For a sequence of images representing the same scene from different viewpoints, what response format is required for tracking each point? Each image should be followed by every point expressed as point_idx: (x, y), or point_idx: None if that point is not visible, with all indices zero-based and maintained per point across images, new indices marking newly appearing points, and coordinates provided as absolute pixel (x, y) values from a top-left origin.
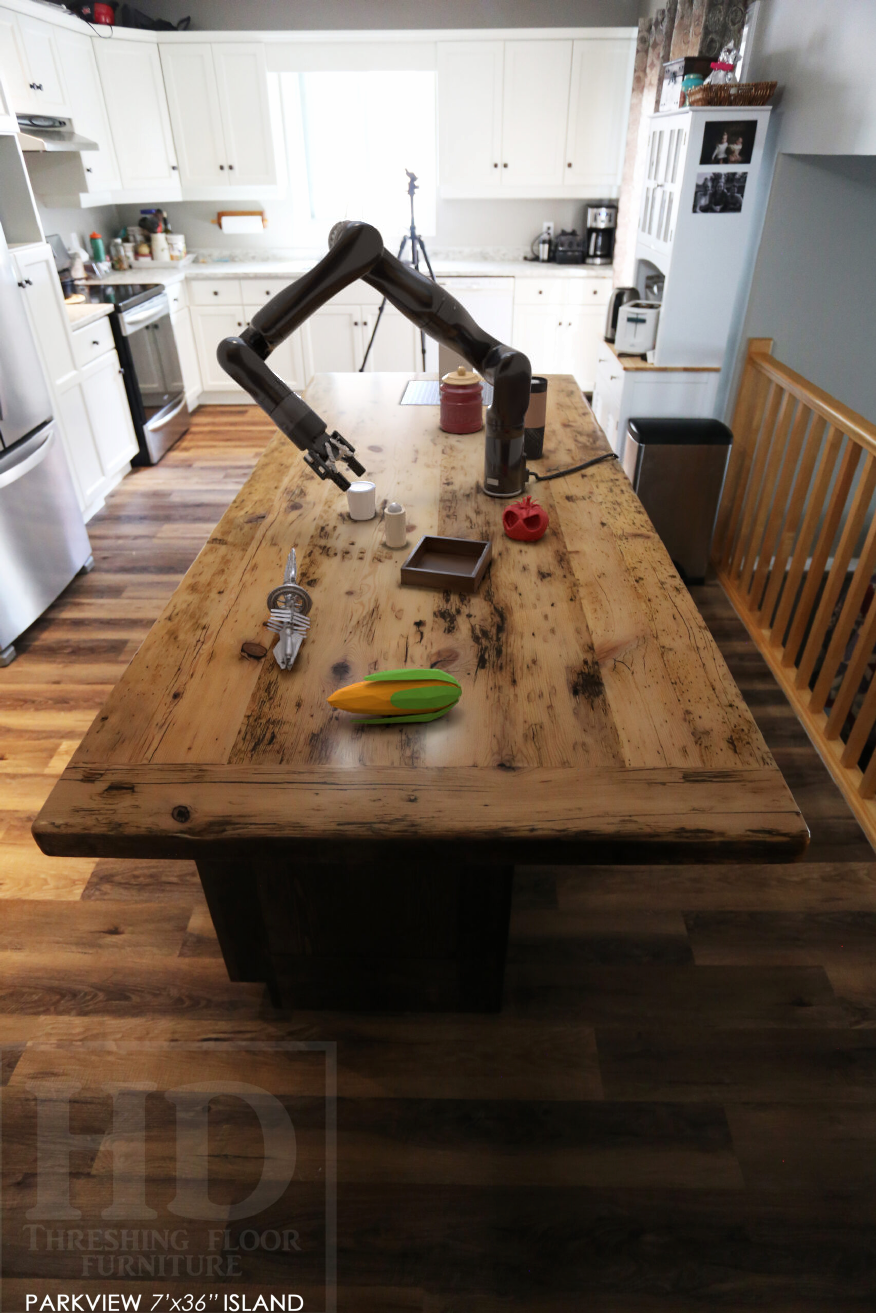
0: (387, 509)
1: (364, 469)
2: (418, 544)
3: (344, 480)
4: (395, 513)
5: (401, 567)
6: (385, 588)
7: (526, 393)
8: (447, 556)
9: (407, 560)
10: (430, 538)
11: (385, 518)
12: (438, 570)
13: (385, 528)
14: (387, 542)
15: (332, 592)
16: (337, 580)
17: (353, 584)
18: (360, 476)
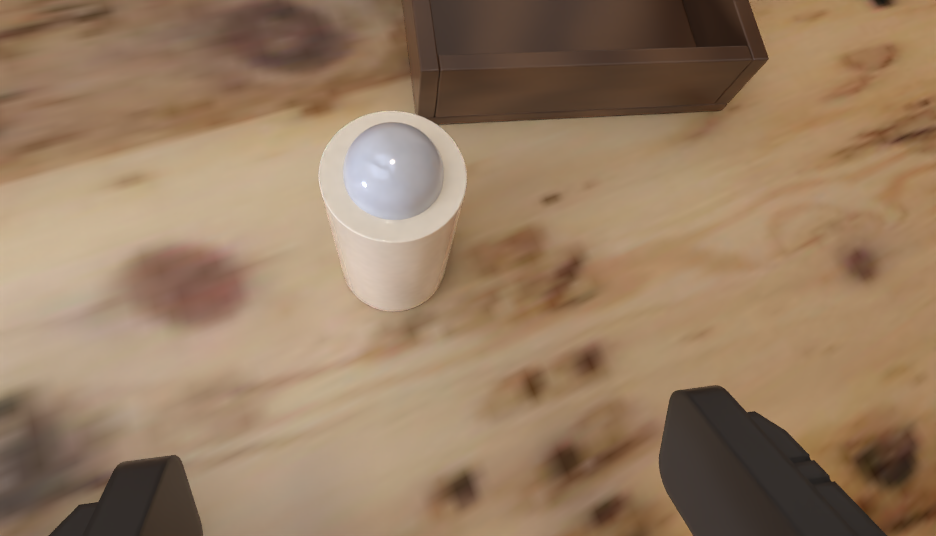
0: (403, 220)
1: (147, 466)
2: (535, 58)
3: (775, 451)
4: (445, 149)
5: (761, 56)
6: (759, 157)
7: None
8: (445, 17)
9: (696, 54)
10: (435, 40)
11: (447, 236)
12: (570, 16)
13: (432, 269)
14: (439, 279)
15: (896, 331)
16: (811, 361)
17: (800, 282)
18: (199, 525)
